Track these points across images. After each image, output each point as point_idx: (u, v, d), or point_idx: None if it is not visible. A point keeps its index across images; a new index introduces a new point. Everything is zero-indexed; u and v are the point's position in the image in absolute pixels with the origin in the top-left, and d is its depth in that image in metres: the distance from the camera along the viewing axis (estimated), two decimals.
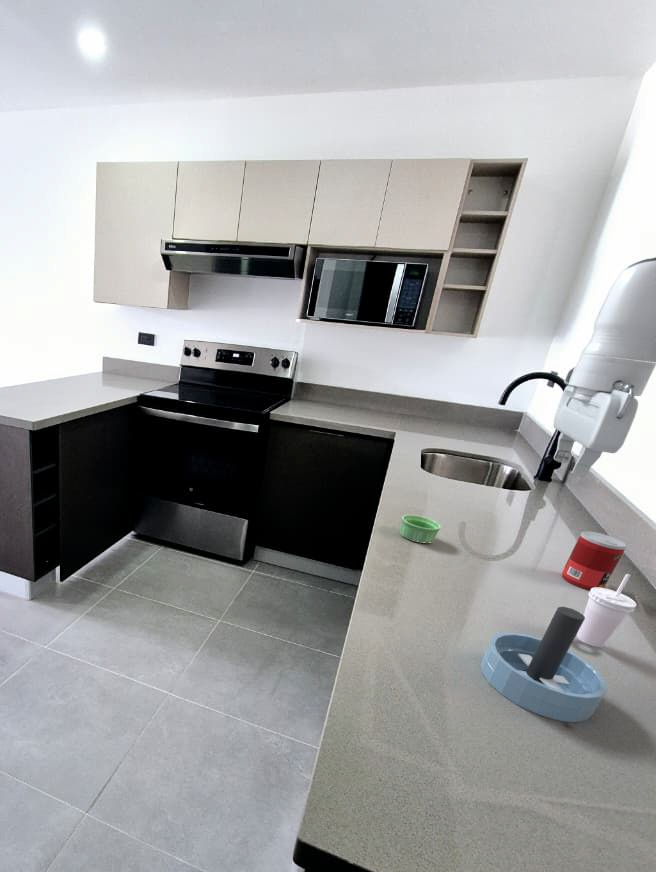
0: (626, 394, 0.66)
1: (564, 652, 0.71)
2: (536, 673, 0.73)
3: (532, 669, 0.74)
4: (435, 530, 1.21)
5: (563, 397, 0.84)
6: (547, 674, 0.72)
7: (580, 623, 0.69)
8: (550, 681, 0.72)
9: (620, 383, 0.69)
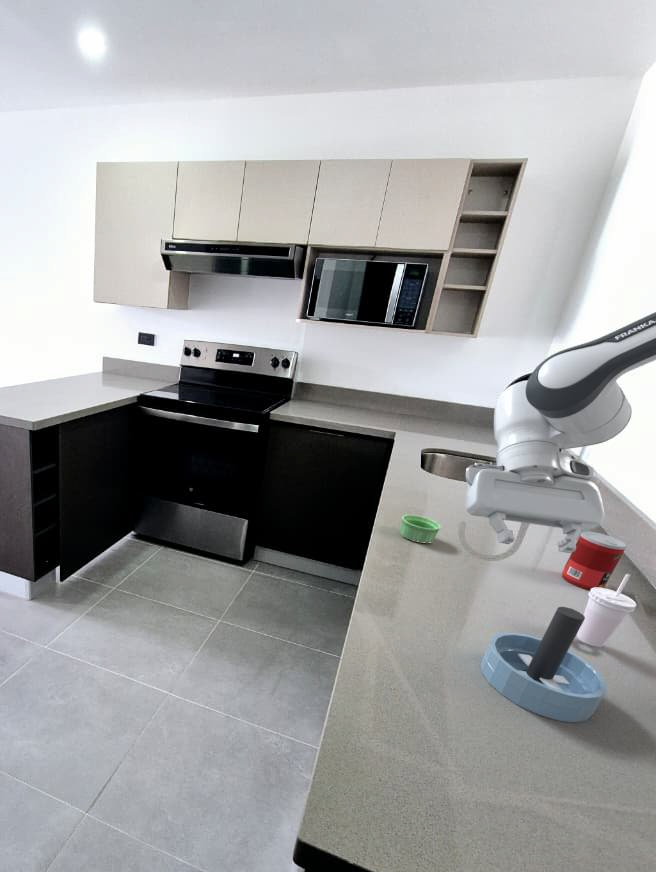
0: None
1: (564, 652, 0.71)
2: (536, 673, 0.73)
3: (532, 669, 0.74)
4: (435, 530, 1.21)
5: None
6: (547, 674, 0.72)
7: (580, 623, 0.69)
8: (550, 681, 0.72)
9: None
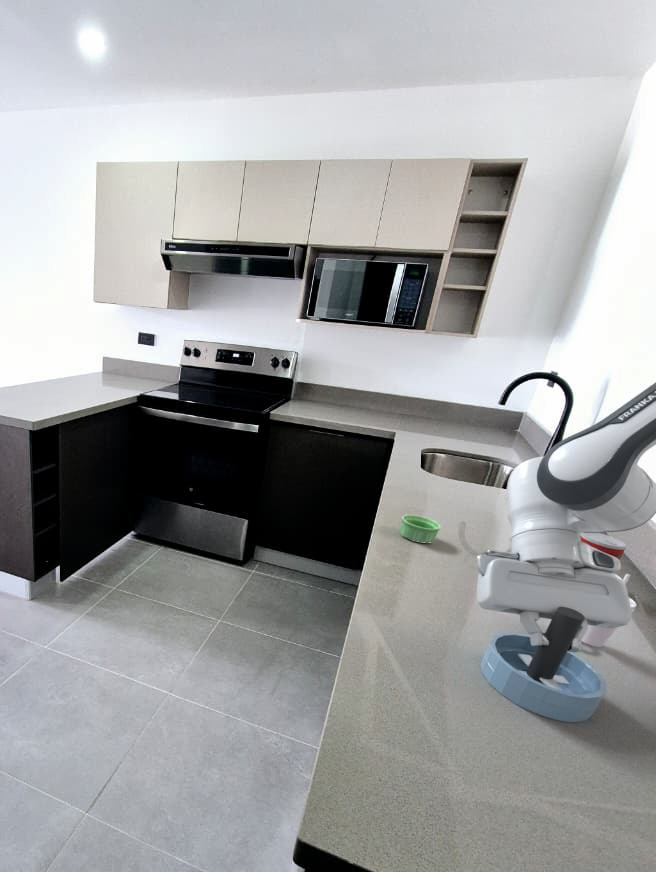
0: None
1: (564, 652, 0.71)
2: (536, 673, 0.73)
3: (532, 669, 0.74)
4: (435, 530, 1.21)
5: None
6: (547, 674, 0.72)
7: (580, 623, 0.69)
8: (550, 681, 0.72)
9: None
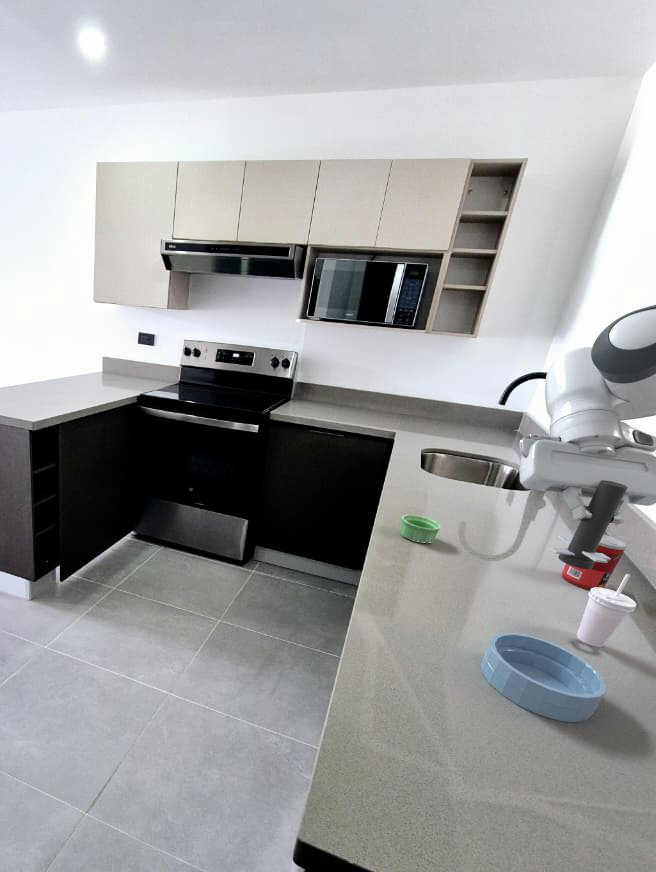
0: None
1: (606, 523, 0.73)
2: (578, 547, 0.76)
3: (574, 544, 0.76)
4: (435, 530, 1.21)
5: None
6: (589, 547, 0.75)
7: (623, 492, 0.71)
8: (592, 553, 0.75)
9: None
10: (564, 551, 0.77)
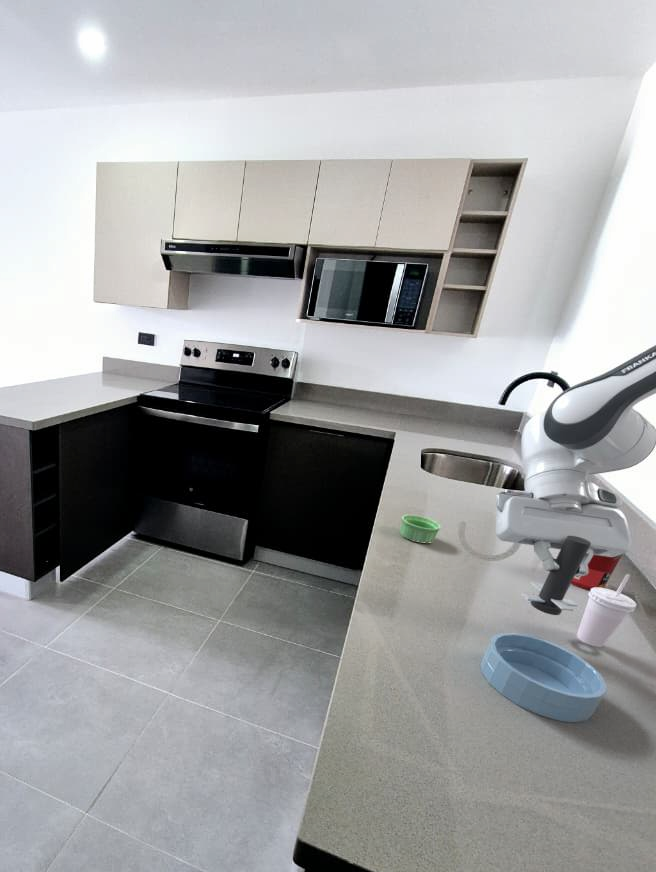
0: None
1: (572, 574, 0.81)
2: (548, 595, 0.84)
3: (544, 592, 0.84)
4: (435, 530, 1.21)
5: None
6: (557, 595, 0.83)
7: (587, 548, 0.79)
8: (560, 601, 0.83)
9: None
10: (535, 598, 0.84)
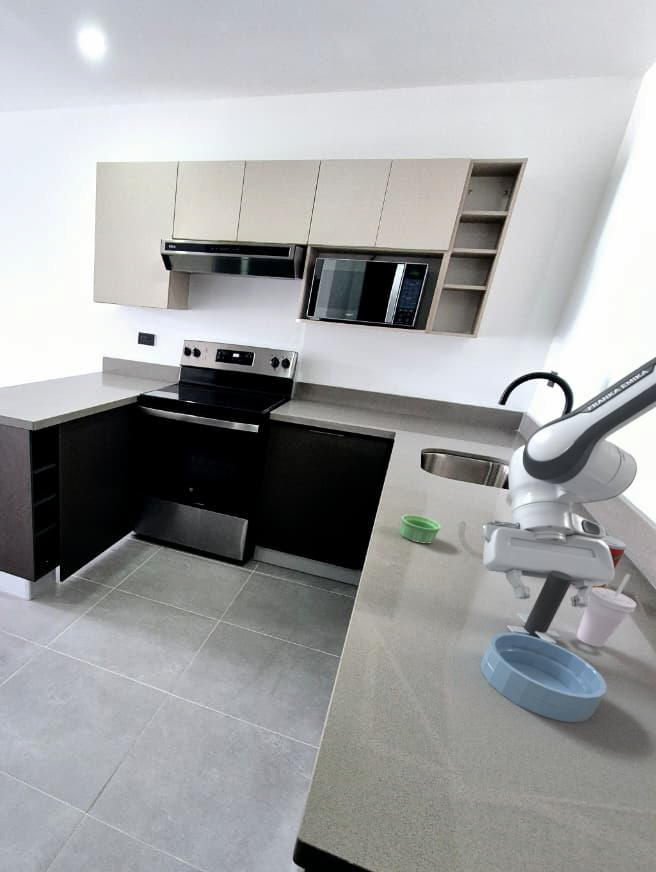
0: None
1: (556, 608, 0.84)
2: (532, 627, 0.86)
3: (529, 624, 0.87)
4: (435, 530, 1.21)
5: None
6: (541, 628, 0.85)
7: (569, 583, 0.82)
8: (544, 634, 0.85)
9: None
10: (520, 630, 0.87)
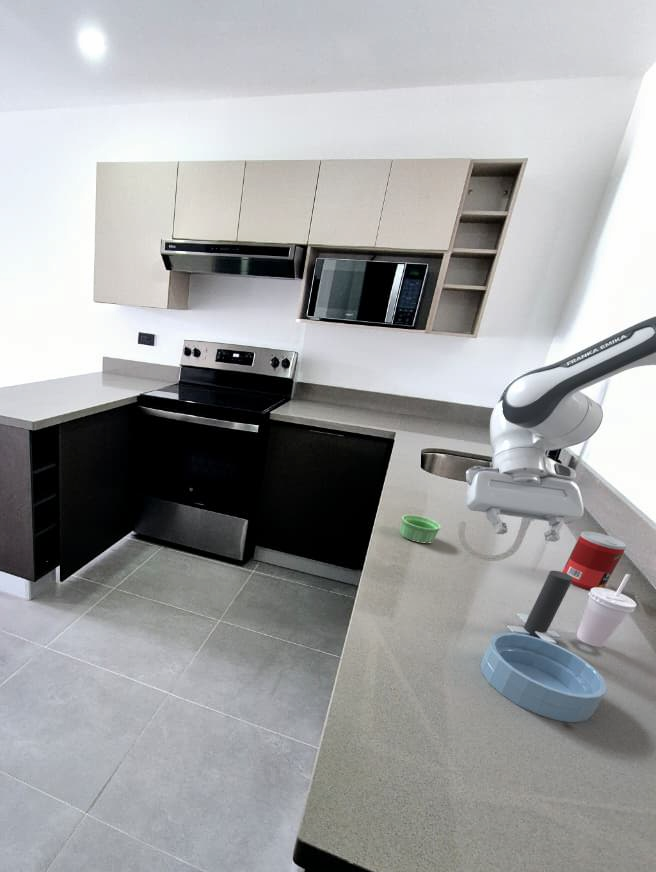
0: None
1: (556, 608, 0.84)
2: (532, 627, 0.86)
3: (529, 624, 0.87)
4: (435, 530, 1.21)
5: None
6: (541, 628, 0.85)
7: (569, 583, 0.82)
8: (544, 634, 0.85)
9: None
10: (520, 630, 0.87)
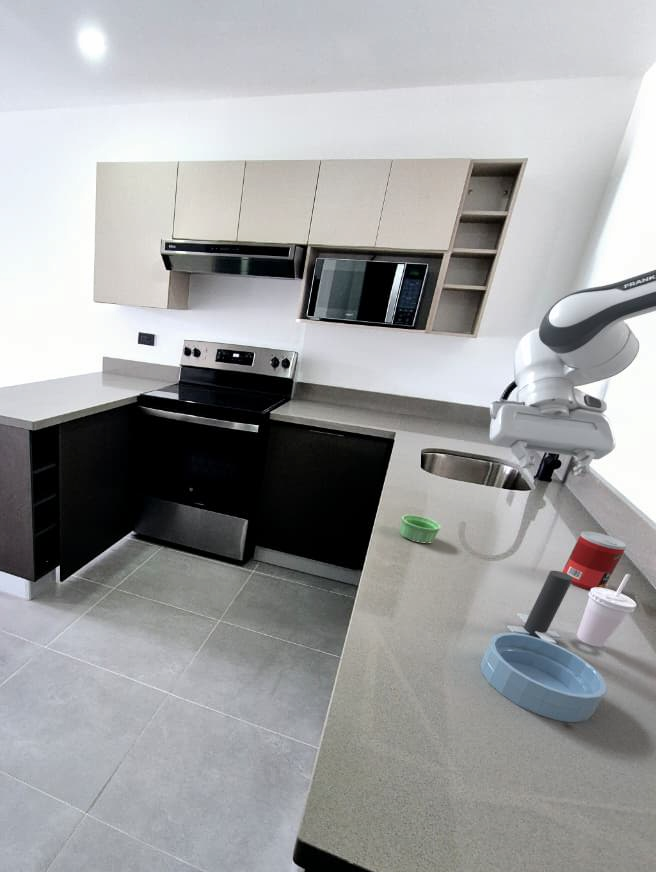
0: None
1: (556, 608, 0.84)
2: (532, 627, 0.86)
3: (529, 624, 0.87)
4: (435, 530, 1.21)
5: None
6: (541, 628, 0.85)
7: (569, 583, 0.82)
8: (544, 634, 0.85)
9: None
10: (520, 630, 0.87)
